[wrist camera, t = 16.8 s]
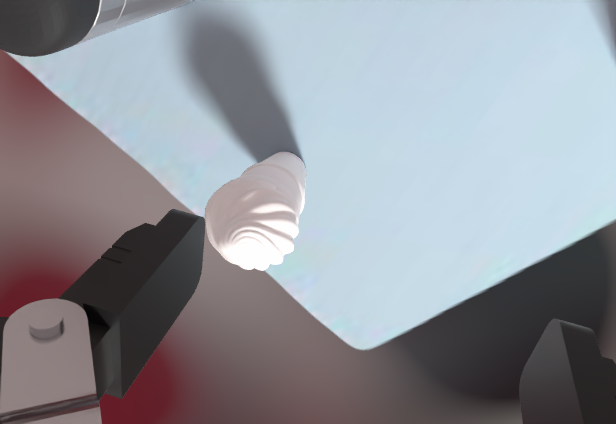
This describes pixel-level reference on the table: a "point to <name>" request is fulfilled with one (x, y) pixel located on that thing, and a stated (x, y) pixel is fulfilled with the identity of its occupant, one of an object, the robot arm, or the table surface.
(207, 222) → the soft serve ice cream cone
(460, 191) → the table surface
